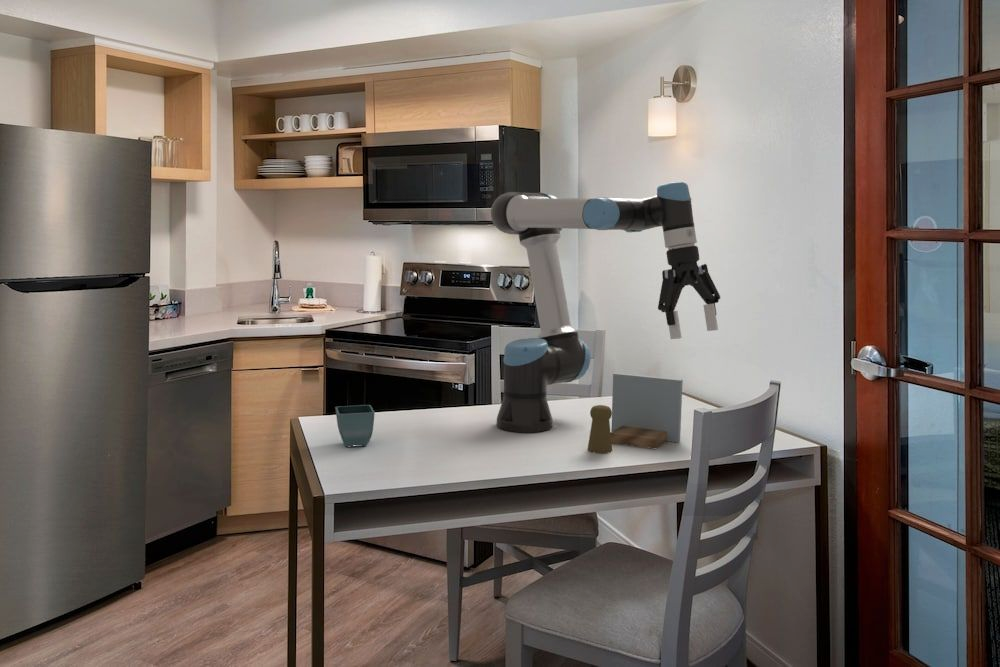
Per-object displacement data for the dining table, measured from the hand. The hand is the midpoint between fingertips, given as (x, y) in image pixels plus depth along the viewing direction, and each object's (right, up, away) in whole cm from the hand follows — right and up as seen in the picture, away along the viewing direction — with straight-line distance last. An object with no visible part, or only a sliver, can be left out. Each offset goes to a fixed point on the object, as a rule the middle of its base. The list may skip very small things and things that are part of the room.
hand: (694, 334), depth 205 cm
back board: (-9, -27, +15) cm, 32 cm away
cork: (-23, -28, +2) cm, 36 cm away
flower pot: (-83, -27, +4) cm, 87 cm away
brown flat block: (-12, -27, +11) cm, 32 cm away
